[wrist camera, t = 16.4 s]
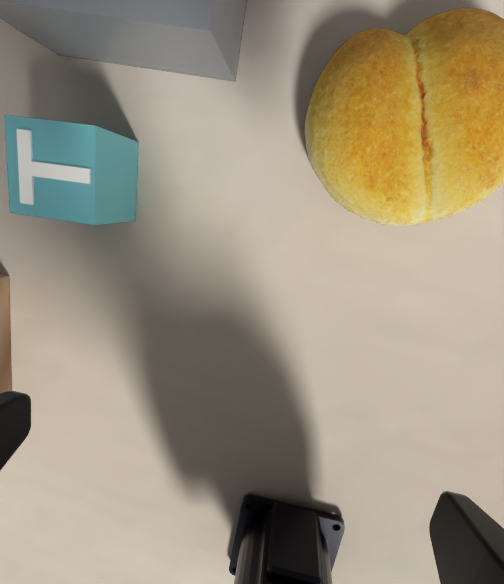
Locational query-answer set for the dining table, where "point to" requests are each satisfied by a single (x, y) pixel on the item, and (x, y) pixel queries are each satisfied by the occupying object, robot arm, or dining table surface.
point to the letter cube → (70, 171)
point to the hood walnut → (5, 336)
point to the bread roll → (412, 119)
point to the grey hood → (138, 32)
